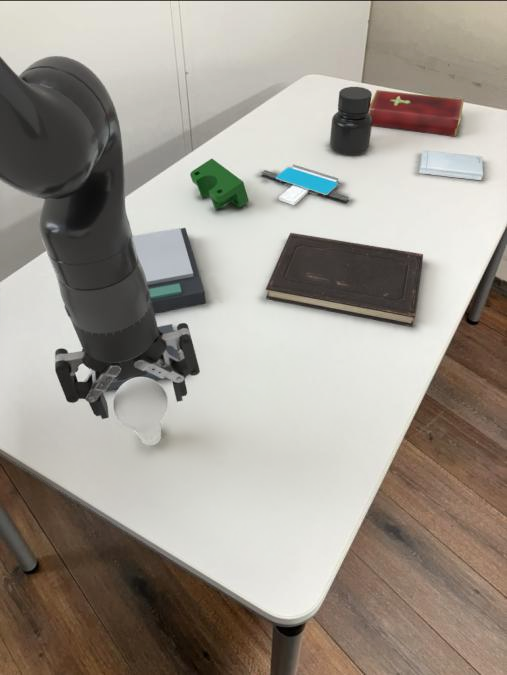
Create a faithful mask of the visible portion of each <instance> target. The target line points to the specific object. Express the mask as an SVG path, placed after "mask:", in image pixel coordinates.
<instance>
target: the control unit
mask: <svg viewBox="0 0 507 675" xmlns="http://www.w3.org/2000/svg"><path fill="white" fill-rule="evenodd" d="M157 327H158V329H159V330H160V331H161V332H162V333H163V334H166V333H170V332H174V331H175V330H174V326H173V323H172V324H166V325H160V326H157ZM166 351H167V352H168V354H169V355H171V356H173V357H175V358H176V359H178V360H181V359H180V353H179V352H178V350H175V349H174V347H172V346H167V347H166ZM135 377H147V378H150V379H153V380H155V381H159V380H164V379H167V378H166V377H164V378H163V379H161V378H159V377H157V376H155V375H153V374H151V373H149V372H147V375H143V376H133V377H130V378H127V379H125V380H120V381H118V380H117V379H113V381H112V382H111V384H110V385H109V387H108V388H107V390H106V391H105V392H107V391H112V390H118V389H119V387H120V386H121V385H122V384H123V383H124V382H126V381H128V380H130V379H132V378H135Z"/></svg>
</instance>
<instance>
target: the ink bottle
mask: <svg viewBox="0 0 507 675" xmlns="http://www.w3.org/2000/svg"><path fill="white" fill-rule="evenodd" d="M372 96H373V93H372V91H371V90H370V89H368V88H365V87H362V86H348V87H344V88H342V89H340V90H339V92H338V101H337V112H336V113H334V114H333V116H332V117H331V124H330V125H331V126H330V137H329V147H330V149H331V150H332V151H333V152H334V153H336V154H339V155H342V156H357V155H358V156H360V155H362V154H365V153H366V152H367V151H368V149H369V148H370V142H371V135H372V128H373V126H372V122H373V121H372V117H371V116H370V114H369V113H368V112H369V109H370V104H371V102H372Z"/></svg>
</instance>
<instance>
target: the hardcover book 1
mask: <svg viewBox="0 0 507 675" xmlns="http://www.w3.org/2000/svg"><path fill="white" fill-rule="evenodd" d="M423 261H424V253H420V252H419V253H418V252H412V251H407V250H402V249H401V250H400V249H394V248H388V247H383V246H381V247H380V246H375V245H370V244H369V245H368V244H363V243H357V242H352V241H351V242H350V241H344V240H339V239H333V238H327V237H321V236H320V237H319V236H313V235H306V234H302V233H295V232H290V233H289V235H288V237H287V239H286V242H285V244H284V246H283V249H282V251H281V253H280V255H279V257H278V260H277V262H276V265H275V267H274V269H273V270H272V273H271V276H270V279H269V281H268V283H267V285H266V288H265V291H268V292H267V294H266V296H265V299H266V300H272V301H275V302H276V301H277V302H282V303H287V304H293V305H296V306H297V305H298V306H302V307H308V308H313V309H318V310H324V311H328V312H334V313H339V314H344V315H350V316H353V317H358V318H359V317H360V318H365V319H370V320H375V321H380V322H386V323H391V324H397V325H402V326H406V327H411V328H412V327H413V326H414V319H415V318H416V312H417V304H418V300H419V299H418V298H419V290H420V282H421V275H422V267H423Z"/></svg>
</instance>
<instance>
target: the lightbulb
mask: <svg viewBox="0 0 507 675" xmlns="http://www.w3.org/2000/svg"><path fill="white" fill-rule="evenodd" d="M168 404H169V400H168V396H167V393H166V390H165V389H164V387H163V386H162V385H161V384H160V383H159V381H158V380H153V379H150V378H147V377H135V378H132V379H130V380H128V381H126V382H124V383H123V384H122V385H121V386H120V387H119V388H117V389H116V392H115V394H114V398H113V411H114V414H115V416H116V418H117V420H118V421H119V422H120V423H121V424H122V425H123V426H124V427H126V428H129V429H131V430H134V431H135V433H136V435H137V436H138V437H139V438H140V441H141V442H142V443H143V444H144V445H145V446H155V445H156V444H158V443H159V442H160V440H161V438H162V431H161V429H162V421H163V418H164V417H165V415H166V413H167V409H168Z"/></svg>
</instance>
